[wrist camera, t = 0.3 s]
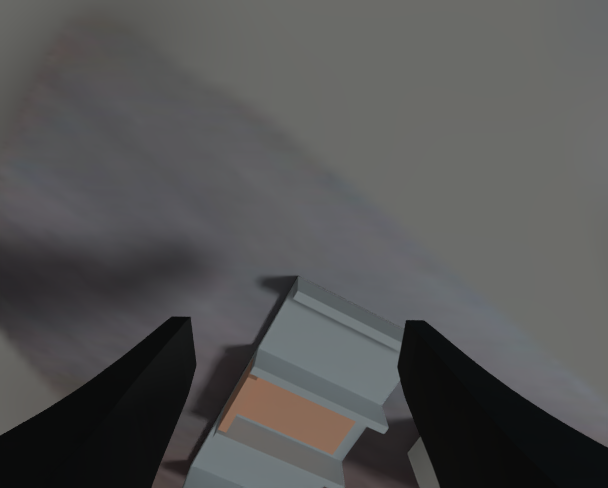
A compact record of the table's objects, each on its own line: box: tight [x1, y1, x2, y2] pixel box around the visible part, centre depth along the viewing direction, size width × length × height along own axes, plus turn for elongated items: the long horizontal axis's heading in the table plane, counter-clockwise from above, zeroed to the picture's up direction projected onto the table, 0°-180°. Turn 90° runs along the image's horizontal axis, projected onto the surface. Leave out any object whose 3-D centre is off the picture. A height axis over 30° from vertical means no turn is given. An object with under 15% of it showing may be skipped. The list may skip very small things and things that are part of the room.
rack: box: [182, 276, 404, 488], centre depth 23 cm, size 18×10×2 cm, turn 152°
